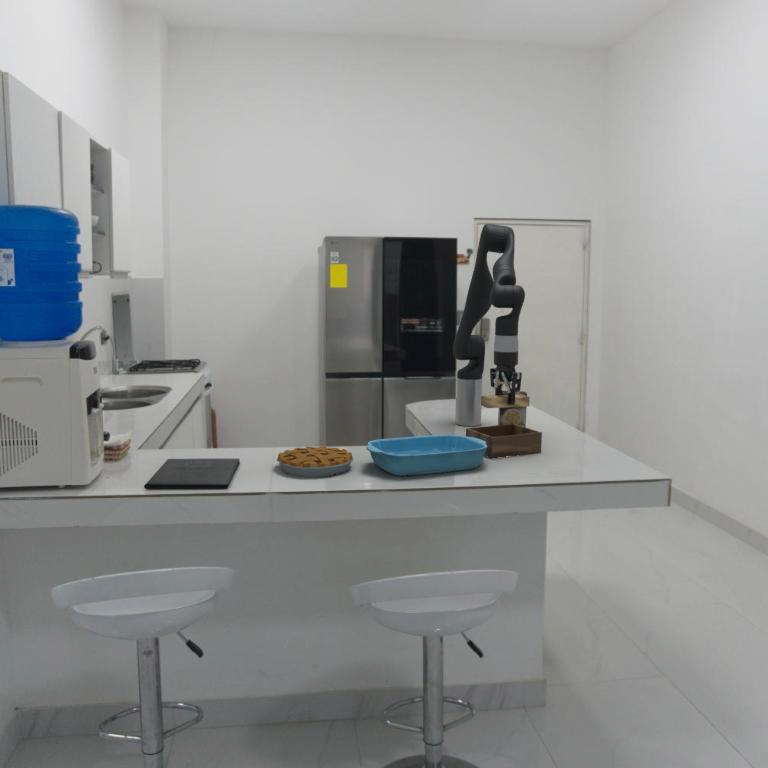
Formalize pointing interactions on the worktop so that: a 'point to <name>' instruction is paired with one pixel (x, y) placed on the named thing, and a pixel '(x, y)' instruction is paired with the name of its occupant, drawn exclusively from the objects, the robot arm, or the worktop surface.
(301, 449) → the pie
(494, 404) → the tan flat block
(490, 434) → the wooden box
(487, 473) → the worktop surface
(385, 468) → the casserole dish
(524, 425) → the coffee box
